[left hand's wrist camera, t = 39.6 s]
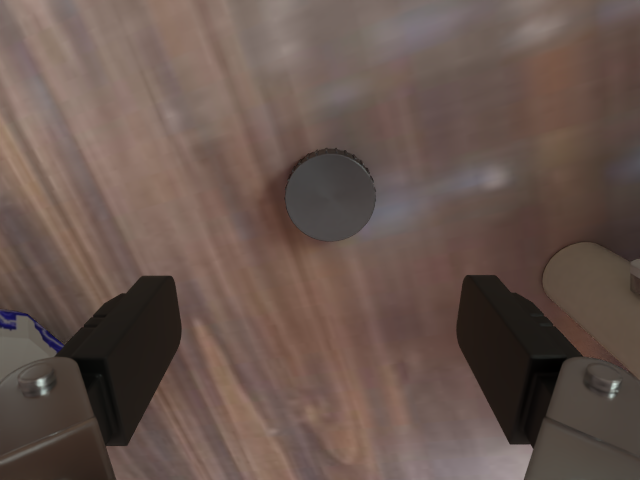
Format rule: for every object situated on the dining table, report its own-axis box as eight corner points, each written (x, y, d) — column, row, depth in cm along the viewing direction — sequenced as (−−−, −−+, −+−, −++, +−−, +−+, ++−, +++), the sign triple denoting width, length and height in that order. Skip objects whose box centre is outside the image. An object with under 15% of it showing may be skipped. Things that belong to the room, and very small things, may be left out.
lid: (378, 150, 24) (382, 155, 22) (368, 234, 26) (371, 246, 24) (289, 144, 24) (285, 148, 22) (285, 228, 26) (282, 239, 24)
